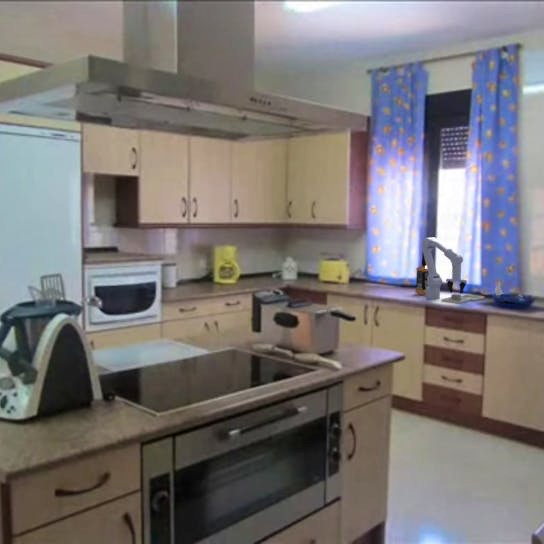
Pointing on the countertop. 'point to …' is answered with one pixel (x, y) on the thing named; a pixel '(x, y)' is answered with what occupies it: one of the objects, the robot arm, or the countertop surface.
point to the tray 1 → (455, 300)
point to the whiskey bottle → (422, 277)
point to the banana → (499, 289)
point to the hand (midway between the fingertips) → (456, 292)
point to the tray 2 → (473, 297)
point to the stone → (456, 297)
